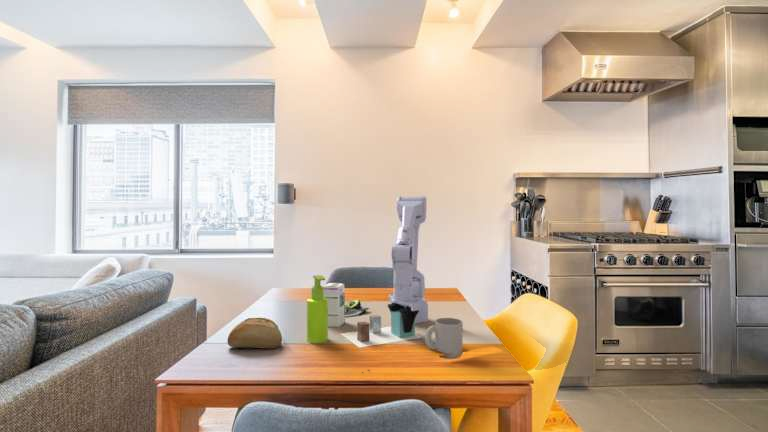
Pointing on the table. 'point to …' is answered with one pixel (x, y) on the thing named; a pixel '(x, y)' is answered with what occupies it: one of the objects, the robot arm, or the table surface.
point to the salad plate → (354, 308)
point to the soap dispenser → (317, 314)
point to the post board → (377, 338)
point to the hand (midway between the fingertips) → (402, 329)
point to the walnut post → (363, 331)
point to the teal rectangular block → (399, 325)
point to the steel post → (375, 324)
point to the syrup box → (335, 303)
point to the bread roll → (255, 334)
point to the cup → (446, 337)
